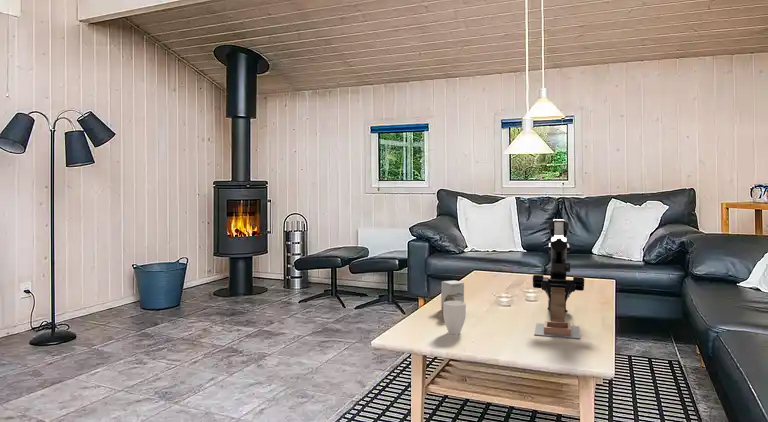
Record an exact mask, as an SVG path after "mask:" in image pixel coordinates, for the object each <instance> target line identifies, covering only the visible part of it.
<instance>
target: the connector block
mask: <svg viewBox="0 0 768 422" xmlns="http://www.w3.org/2000/svg"><path fill="white" fill-rule="evenodd" d="M565 314H566V312H565V288H557V287H551V310H550V318H549V319H550V322H563V323H564V322H565V319H566V318H565Z"/></svg>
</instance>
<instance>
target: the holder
mask: <svg viewBox="0 0 768 422" xmlns="http://www.w3.org/2000/svg"><path fill="white" fill-rule="evenodd" d="M534 329H535V330H534V333H533V335H534V336H535V337H536V336H537V337H538V336H539V337H549V338H550V337H551V338H559V339H574V340H581V330H580V326H579V325H572V324H571V322H564V323H563V322H550V321H549V320H545V321H544V322H543V323H541V322H540V323H539V322H536V324H535V328H534Z"/></svg>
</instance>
